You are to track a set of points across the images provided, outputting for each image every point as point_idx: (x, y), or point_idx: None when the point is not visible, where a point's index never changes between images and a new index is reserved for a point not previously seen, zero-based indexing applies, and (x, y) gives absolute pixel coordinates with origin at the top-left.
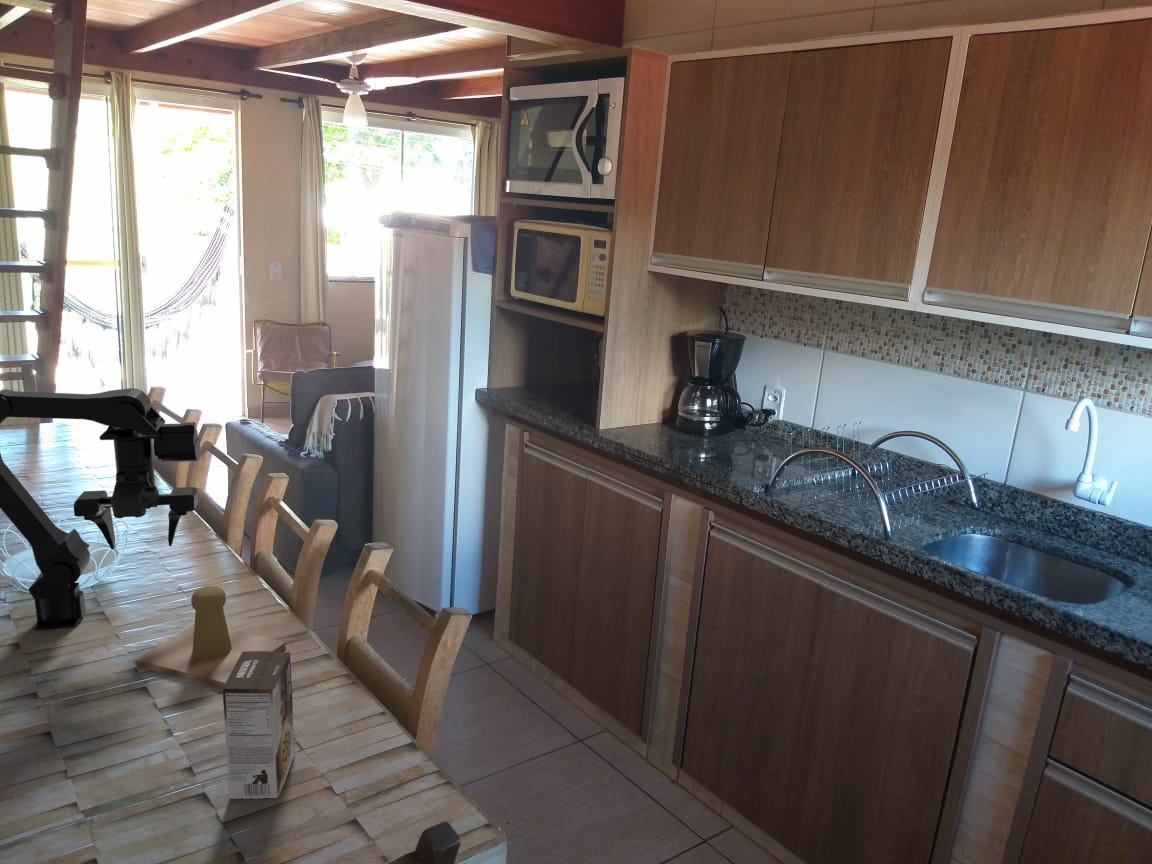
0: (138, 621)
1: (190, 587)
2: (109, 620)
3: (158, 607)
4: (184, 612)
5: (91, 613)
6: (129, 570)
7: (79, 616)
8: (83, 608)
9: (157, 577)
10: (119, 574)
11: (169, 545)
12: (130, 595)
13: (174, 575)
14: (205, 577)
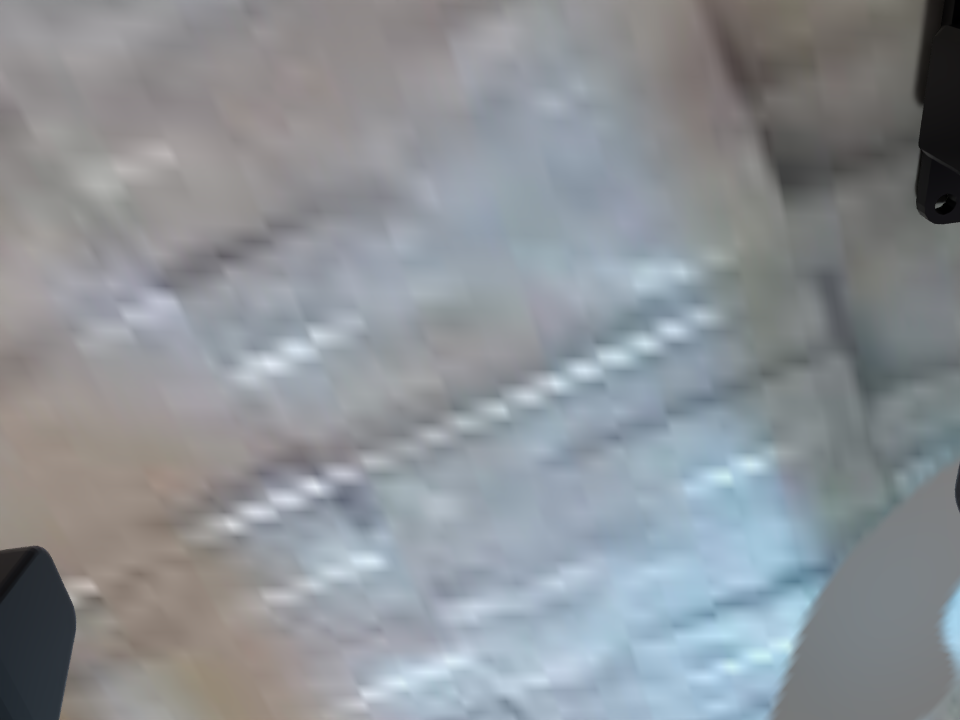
0: (484, 4)
1: (293, 522)
2: (716, 38)
3: (406, 243)
4: (170, 150)
5: (865, 167)
6: (732, 704)
7: (956, 28)
8: (947, 117)
9: (550, 636)
10: (778, 664)
11: (22, 548)
12: (654, 422)
13: (455, 659)
14: (251, 640)
